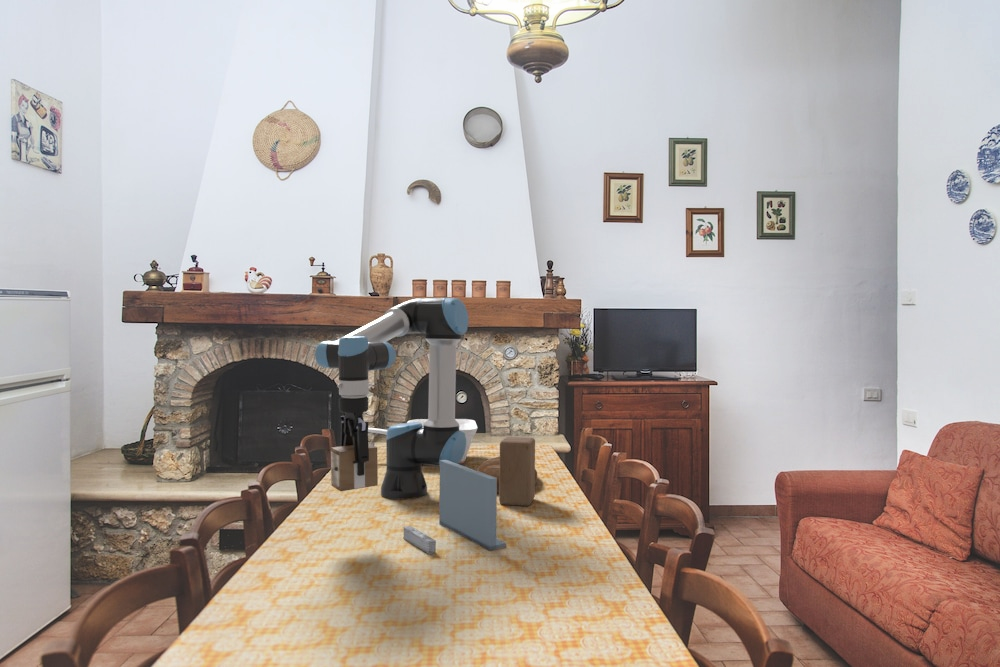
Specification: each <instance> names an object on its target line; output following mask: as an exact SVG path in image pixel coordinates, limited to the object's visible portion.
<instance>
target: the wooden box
mask: <svg viewBox="0 0 1000 667" xmlns="http://www.w3.org/2000/svg"><path fill="white" fill-rule="evenodd" d="M368 447H369V461H366V462H365V487H363V488H362V489H364V488H365V489H366V488H370V487H377V486H378V478H379V476H378V473H379V472H378V471H379V470H378V468H379V467H378V446H375V445H374V444H371V443H368ZM330 449H331V450H330V475H331V476H330V478H331V480H330V482H331V487H332V488H334V489H336V490H337V491H339V492H345V491H352V490H358V489H360V488H356V489H355V488H354V464H353V461H355V454H354V446H353V445H349V446H340V445H339V446H334V447H333V446H332V447H330Z"/></svg>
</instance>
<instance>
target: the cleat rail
mask: <svg viewBox="0 0 1000 667" xmlns="http://www.w3.org/2000/svg"><path fill="white" fill-rule="evenodd" d="M403 539H404V540H405V541H407V542H409V543H410V544H411V545H413V546H414V547H416V548H418V549H420V550H422V551H423V552H424V553H425V554H427V555H431V554H436V553H437V551H436V550H437V542H436V541H437V540H435V539H434V538H432V537H430V536H429V535H427V534H425V533H424V532H422V531H420V530H418V529H417V528H415V527H413V526H412V525H408V526H403Z"/></svg>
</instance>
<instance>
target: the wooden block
mask: <svg viewBox="0 0 1000 667" xmlns="http://www.w3.org/2000/svg"><path fill="white" fill-rule="evenodd" d="M499 457H500V470H499V494H498V501H499V503H500V505H509V506H520V507H521V506H522V507H529V506H530V505H532V502H533V501H534V498H535V490H536V488H535V485H536V484H535V469H536V440H535V438H534V437H529V436H527V437H525V436H505V437H504V438H503V439H502V440H501V441H500V442H499Z"/></svg>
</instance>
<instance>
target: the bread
mask: <svg viewBox="0 0 1000 667" xmlns="http://www.w3.org/2000/svg"><path fill="white" fill-rule="evenodd" d="M499 470H500V456H496V457H492V458H489V459H487V460H485V461H483V462H482V463H481V464H480V465H479V466H478V467H477V468H476V471H479V472H481V473H484V474H487V475H490V476H492V477H495V478H497V495H499ZM537 482H538V471H537V469H536V468H535V485H536V484H537Z"/></svg>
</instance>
